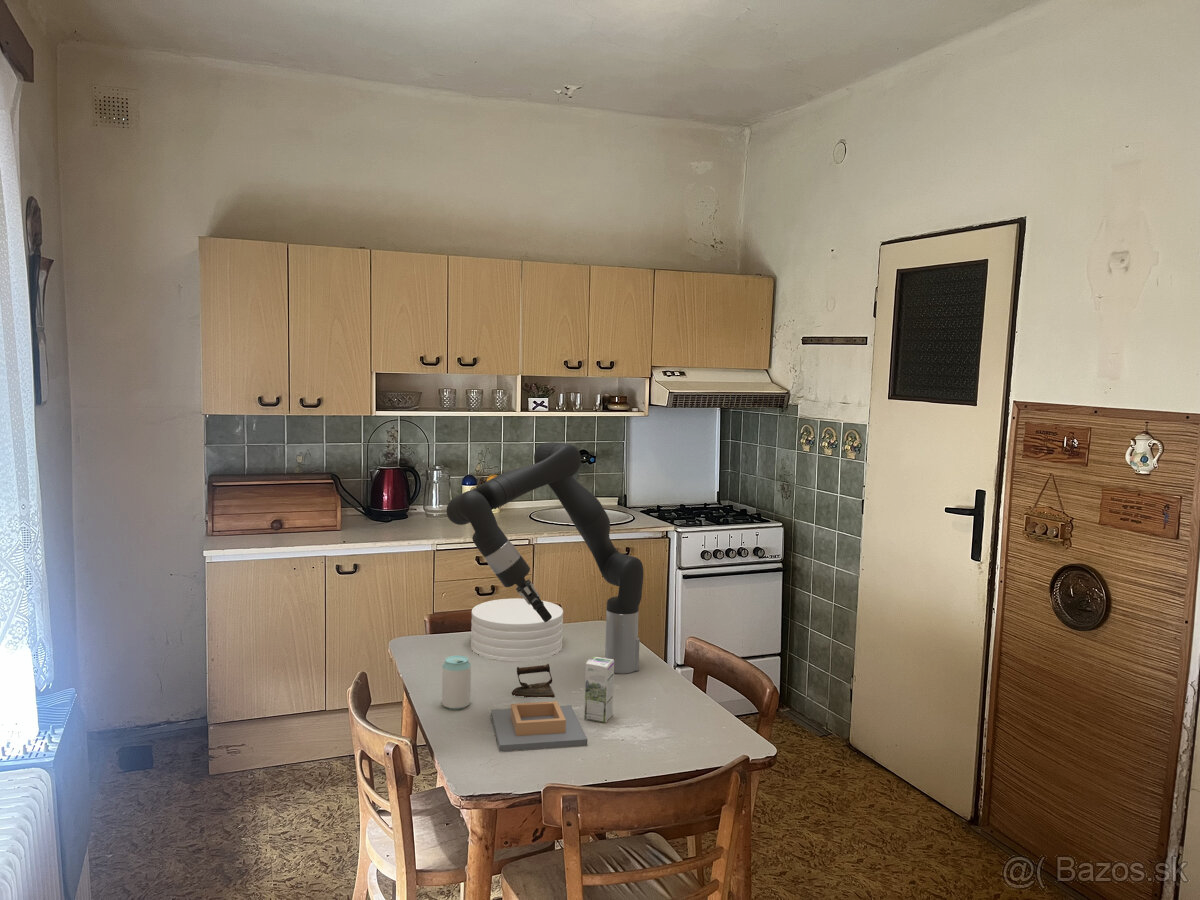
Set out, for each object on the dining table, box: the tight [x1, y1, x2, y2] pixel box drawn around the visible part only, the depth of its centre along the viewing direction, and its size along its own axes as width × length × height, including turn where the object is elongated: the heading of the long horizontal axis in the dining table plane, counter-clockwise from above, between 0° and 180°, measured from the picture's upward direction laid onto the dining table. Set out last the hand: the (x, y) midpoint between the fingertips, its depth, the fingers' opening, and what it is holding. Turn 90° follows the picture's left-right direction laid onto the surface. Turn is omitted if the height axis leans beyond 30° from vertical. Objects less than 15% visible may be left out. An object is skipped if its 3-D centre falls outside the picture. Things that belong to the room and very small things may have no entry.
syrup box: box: [583, 656, 615, 724], centre depth 207 cm, size 6×6×14 cm
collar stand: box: [490, 700, 588, 752], centre depth 199 cm, size 20×20×4 cm
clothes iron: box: [511, 663, 556, 698], centre depth 222 cm, size 7×11×10 cm, turn 105°
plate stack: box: [470, 598, 564, 662], centre depth 260 cm, size 28×28×12 cm
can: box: [441, 655, 472, 710], centre depth 213 cm, size 7×7×12 cm
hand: (545, 615), depth 204 cm, fingers open, 8 cm apart
